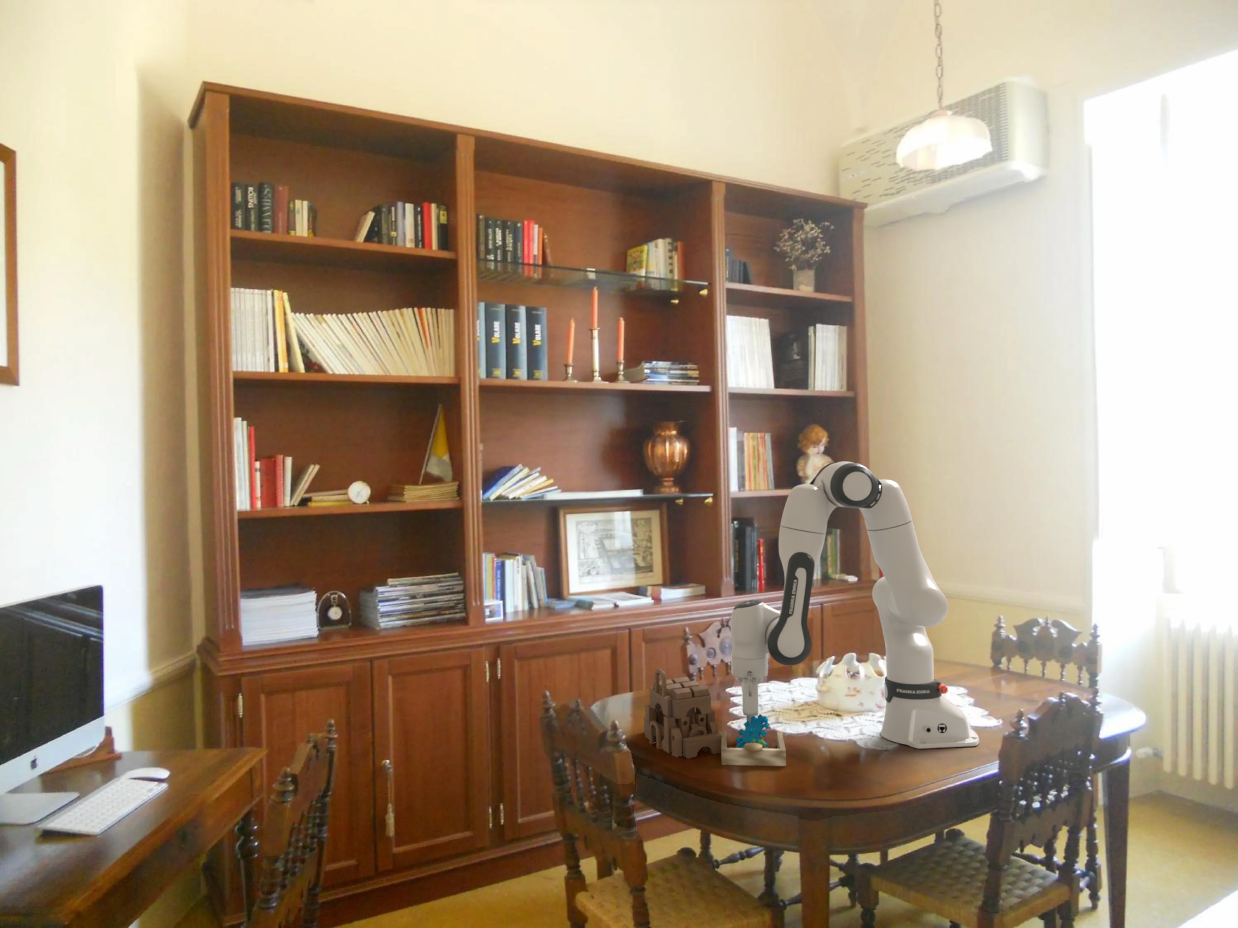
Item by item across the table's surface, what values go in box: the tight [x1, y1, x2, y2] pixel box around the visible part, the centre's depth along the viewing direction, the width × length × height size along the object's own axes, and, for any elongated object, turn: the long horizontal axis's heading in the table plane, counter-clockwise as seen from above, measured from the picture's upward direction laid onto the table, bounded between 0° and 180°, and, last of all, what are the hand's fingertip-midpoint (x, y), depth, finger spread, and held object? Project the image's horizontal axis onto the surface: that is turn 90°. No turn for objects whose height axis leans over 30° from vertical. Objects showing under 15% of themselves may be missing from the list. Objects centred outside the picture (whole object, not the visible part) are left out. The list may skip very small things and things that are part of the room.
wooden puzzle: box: [643, 668, 722, 759], centre depth 214 cm, size 22×15×19 cm, turn 25°
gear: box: [735, 713, 771, 748], centre depth 207 cm, size 11×6×10 cm
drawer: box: [720, 730, 787, 767], centre depth 202 cm, size 14×15×4 cm
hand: (750, 723), depth 214 cm, fingers closed
